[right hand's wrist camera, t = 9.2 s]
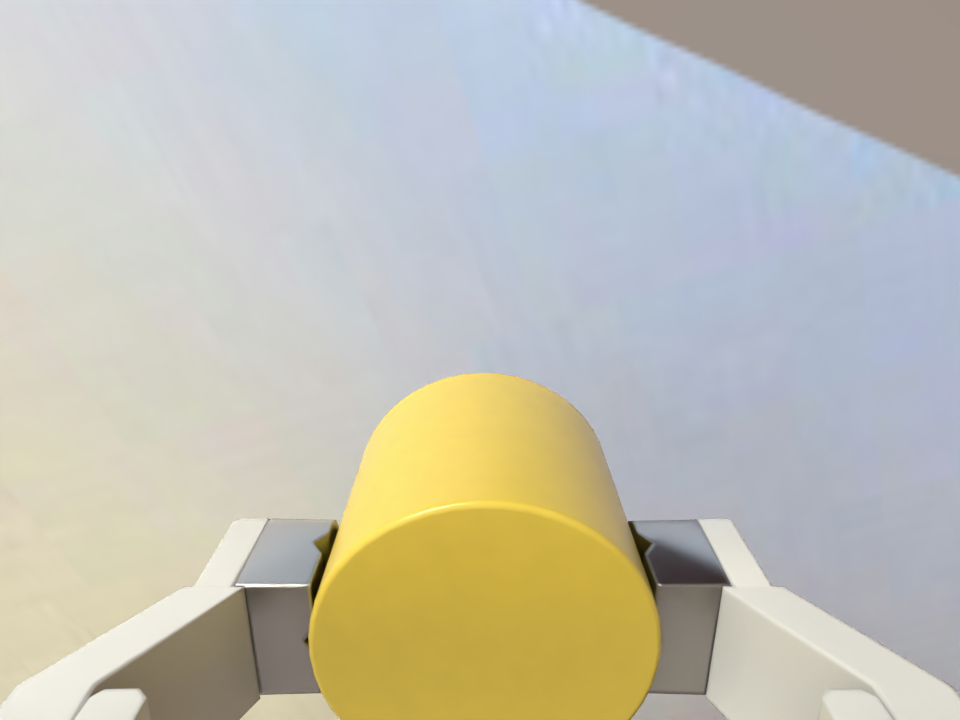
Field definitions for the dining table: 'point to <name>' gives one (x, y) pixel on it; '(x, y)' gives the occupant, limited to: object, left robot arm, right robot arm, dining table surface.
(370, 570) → the tin
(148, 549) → the dining table surface
